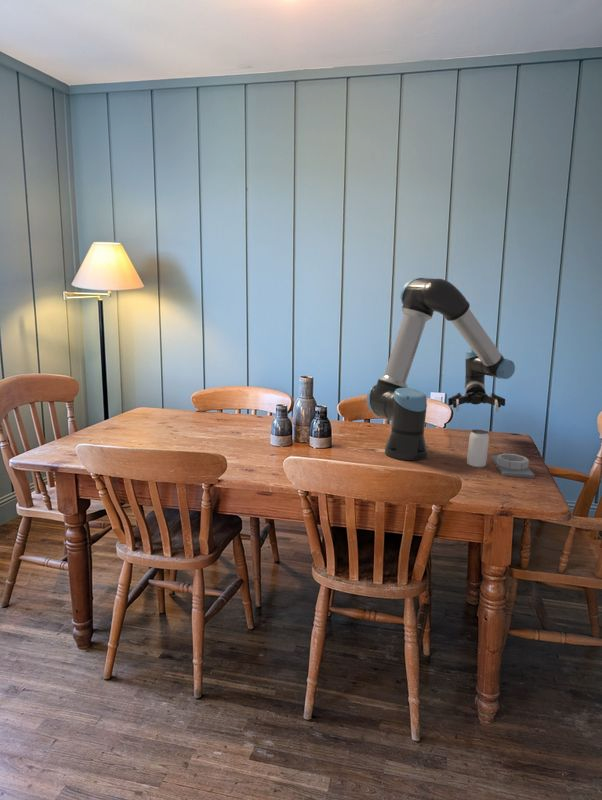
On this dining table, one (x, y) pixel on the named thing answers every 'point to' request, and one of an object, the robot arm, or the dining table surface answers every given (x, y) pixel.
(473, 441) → the can
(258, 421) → the dining table surface
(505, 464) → the socket plate
